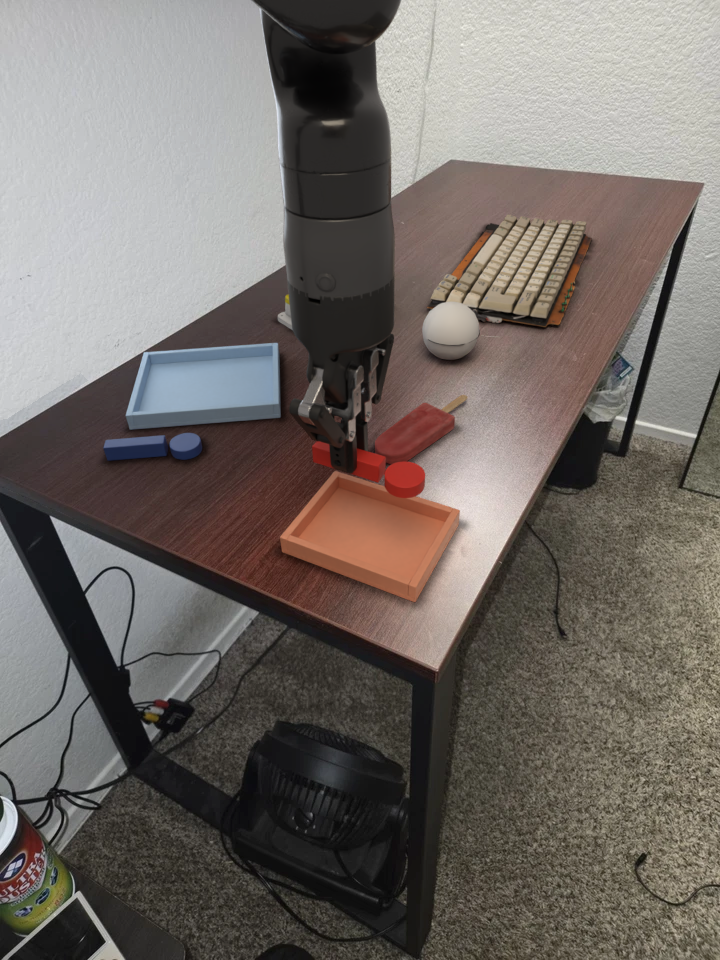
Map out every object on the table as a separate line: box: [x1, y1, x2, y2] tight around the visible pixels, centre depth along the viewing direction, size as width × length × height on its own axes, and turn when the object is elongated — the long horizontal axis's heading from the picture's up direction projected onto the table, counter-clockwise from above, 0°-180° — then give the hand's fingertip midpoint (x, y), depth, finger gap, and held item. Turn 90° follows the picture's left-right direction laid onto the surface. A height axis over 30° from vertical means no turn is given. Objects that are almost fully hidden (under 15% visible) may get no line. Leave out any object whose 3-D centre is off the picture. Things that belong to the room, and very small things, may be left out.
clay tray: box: [279, 470, 461, 603], centre depth 61 cm, size 13×10×2 cm
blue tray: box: [125, 342, 282, 431], centre depth 81 cm, size 17×14×2 cm
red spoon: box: [311, 441, 426, 498], centre depth 56 cm, size 10×3×2 cm, turn 63°
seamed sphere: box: [421, 302, 500, 361], centre depth 84 cm, size 10×7×7 cm
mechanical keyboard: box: [426, 213, 593, 328], centre depth 105 cm, size 38×19×3 cm, turn 158°
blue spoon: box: [102, 432, 203, 462], centre depth 72 cm, size 10×3×2 cm, turn 96°
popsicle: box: [374, 394, 468, 465], centre depth 74 cm, size 4×2×15 cm
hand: (349, 461), depth 57 cm, fingers closed on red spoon, 1 cm apart
